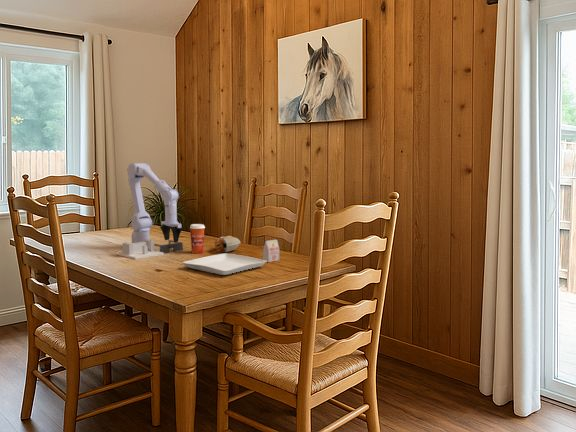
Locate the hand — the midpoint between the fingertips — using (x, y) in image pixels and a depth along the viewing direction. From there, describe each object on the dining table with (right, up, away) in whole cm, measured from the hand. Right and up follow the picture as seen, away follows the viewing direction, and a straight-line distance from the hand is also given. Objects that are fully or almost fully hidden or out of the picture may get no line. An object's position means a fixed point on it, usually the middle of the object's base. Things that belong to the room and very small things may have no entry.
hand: (171, 240), depth 294 cm
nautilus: (+25, -6, +2) cm, 26 cm away
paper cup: (+13, -6, -1) cm, 15 cm away
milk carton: (+51, -9, -21) cm, 56 cm away
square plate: (+31, -11, -36) cm, 49 cm away
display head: (-14, -7, -8) cm, 17 cm away
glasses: (-4, -5, +4) cm, 7 cm away
